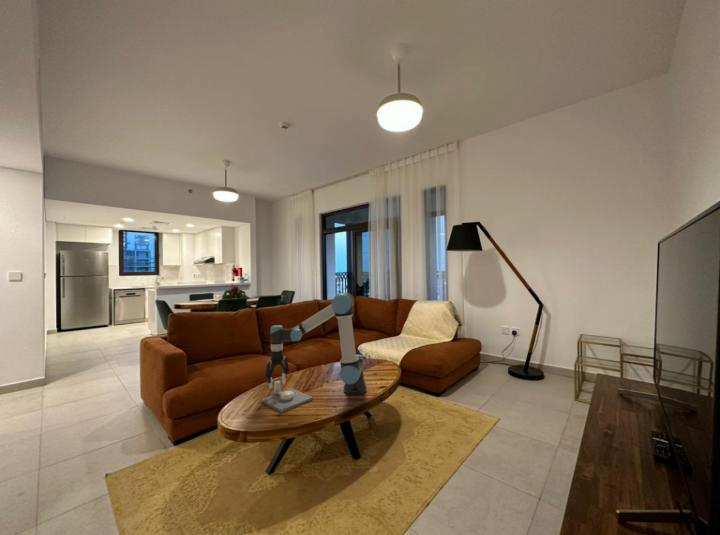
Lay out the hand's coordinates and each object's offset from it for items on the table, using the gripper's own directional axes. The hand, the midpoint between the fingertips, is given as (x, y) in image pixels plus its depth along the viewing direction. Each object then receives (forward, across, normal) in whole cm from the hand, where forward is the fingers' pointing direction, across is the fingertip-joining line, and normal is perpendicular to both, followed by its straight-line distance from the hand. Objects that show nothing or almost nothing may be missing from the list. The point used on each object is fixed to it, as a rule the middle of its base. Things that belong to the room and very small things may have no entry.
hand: (277, 385), depth 181 cm
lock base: (+6, 0, +11) cm, 13 cm away
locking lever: (+5, 0, +6) cm, 8 cm away
